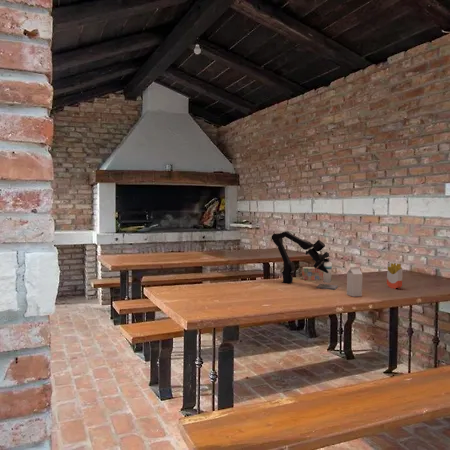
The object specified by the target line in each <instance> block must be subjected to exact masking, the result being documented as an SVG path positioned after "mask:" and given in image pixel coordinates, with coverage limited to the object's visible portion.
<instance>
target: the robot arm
mask: <svg viewBox="0 0 450 450" xmlns="http://www.w3.org/2000/svg"><path fill="white" fill-rule="evenodd" d="M285 238H287V239H288V240H291V241H292V242H294V243H296V244H297V245H298V246H299V247H300V248H301V249H302V250H306V251H305V255H309V257H310V258H312V261H314V263H313V265H312V267H314V268H317V266H318V268H317V269H320V270H322V271H324V272H326V273H328V271H327V269H326V268H325V266H324V262H331V260H330V259H329V258H330V257H331V255H330V252H328V251H325V252H324V253H323V254H321V253H319V252H321V251H322V250H323V249H324V248H325V247H326V245H325V243H324V242H322V241H321V240H320V239H317V240H316V242H314V243H311V241H309V240H305V239H302V238H300V237H298V236H297V235H295V234H294V233H291V232H290V231H287V230H285V231H283V232H280V233H274V234H272V235H271V240H272V242H273V243H274V244H275V245H276V247H277V249H278V252H279V254H280V256H281V258H282V261H283V267H284V270H282V271H281V274H282V283H283V284H292V283H293V281H294V276H293V274H294V272H295V270H296V265H295V262H294V261H291V260H290V258H289V256H288V252H287V250H286V247H285V246H284V244H283V243H284V242H283V240H284V239H285Z"/></svg>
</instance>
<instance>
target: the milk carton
mask: <svg viewBox="0 0 450 450" xmlns="http://www.w3.org/2000/svg"><path fill="white" fill-rule="evenodd" d="M346 295H347V296H350V297H353V298H354V297H362V296H363V272H362V270H361V267H360V266H354V267H353V266H350V267H349V269H348V271H347V272H346Z"/></svg>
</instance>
